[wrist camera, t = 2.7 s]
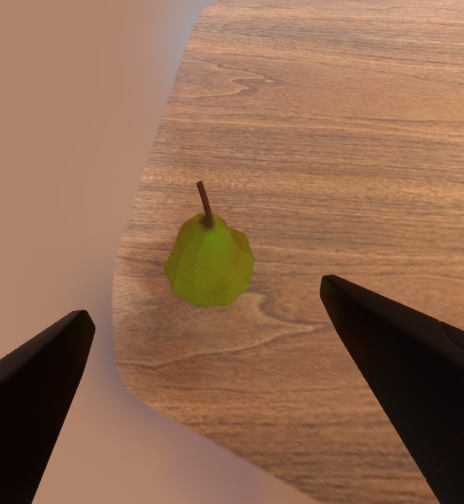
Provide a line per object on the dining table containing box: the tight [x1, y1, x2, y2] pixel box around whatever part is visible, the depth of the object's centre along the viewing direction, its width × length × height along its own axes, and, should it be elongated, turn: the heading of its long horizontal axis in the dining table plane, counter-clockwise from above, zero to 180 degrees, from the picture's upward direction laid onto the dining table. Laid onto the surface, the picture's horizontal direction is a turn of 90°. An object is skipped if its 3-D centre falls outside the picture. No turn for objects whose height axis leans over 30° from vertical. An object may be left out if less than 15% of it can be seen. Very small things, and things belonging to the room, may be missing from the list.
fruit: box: [164, 181, 254, 307], centre depth 13 cm, size 6×6×12 cm
